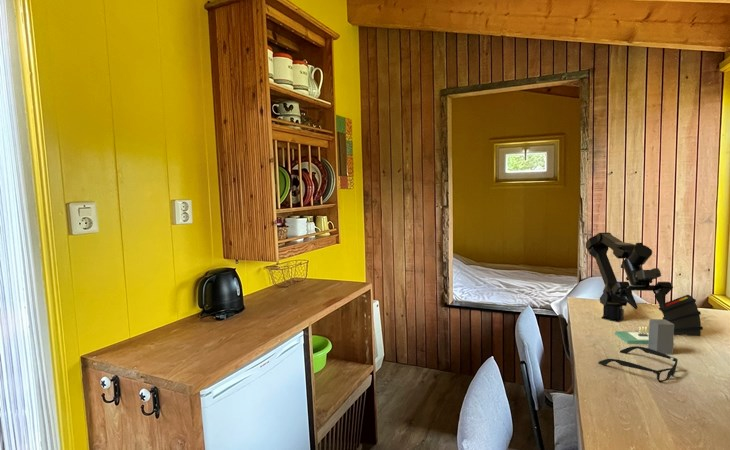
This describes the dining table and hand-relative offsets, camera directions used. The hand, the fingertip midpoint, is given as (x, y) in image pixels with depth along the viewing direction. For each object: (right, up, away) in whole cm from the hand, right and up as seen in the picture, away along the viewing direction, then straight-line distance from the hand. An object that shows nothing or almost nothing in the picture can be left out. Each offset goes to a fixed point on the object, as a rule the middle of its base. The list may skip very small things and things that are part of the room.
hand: (650, 309), depth 143 cm
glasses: (-15, -16, -16) cm, 27 cm away
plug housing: (0, -13, -5) cm, 14 cm away
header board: (+1, -12, +5) cm, 13 cm away
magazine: (+18, -12, +9) cm, 23 cm away
